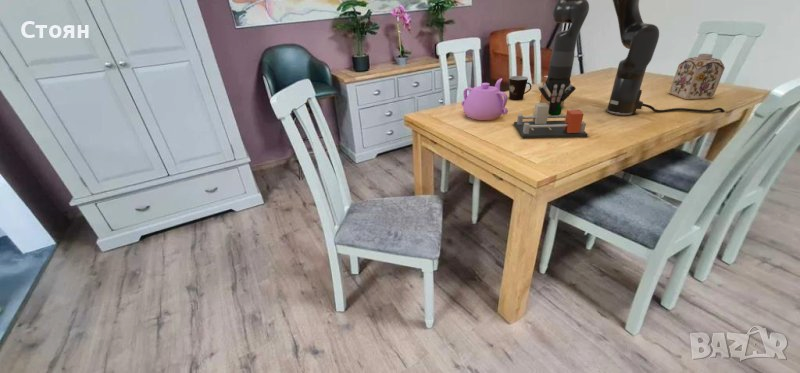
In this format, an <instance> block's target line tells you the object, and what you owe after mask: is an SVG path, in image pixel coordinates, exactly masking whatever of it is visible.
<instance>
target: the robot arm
mask: <svg viewBox="0 0 800 373" xmlns="http://www.w3.org/2000/svg"><path fill="white" fill-rule="evenodd" d="M612 4H613V7H614V10H615V14H616V18H617V23H618V29H619V36H620V41H621V44H622V46H623V47H624V48H626V49H628V52H627V56H626V57H625V58H624V59H622V60H620V61H619V63H618V66H617V69H616V74H615V77H614V81H613V86H612V89H611V93H610V97H609V101H608V105H607V108H606V112H607V113H608V114H610V115H614V116H622V117H623V116H631V115H636V113H637V110H642V108H643V107H645V108H648V109H650V110H651V111H653V112H655V113H669V112H676V111H680V112H681V111H683V112H694V113H714V112H717V111H719V112H721V113H725V112H726V111H725V109H724V108H722V107H716V108H713V109H697V108H685V107H674V108H667V109H656V108H655V107H654V106H652V105H650V104H646V103H644V102H643V101H641V100H640V99H641V95H642V92H643V89H641V87H642V83H643V81H644V77H645V75H646V70H647V67H648V65H649V64H650V63H651V61H652V59H653V56H654V53H655V51H656V48H657V46H658V43H659V38H660V29H659V27H658V26H657V25H656V24H653V23H647V22H646V23H645V22H644V20H643V17H642V15H641V11H640V0H612ZM589 12H590V4H589V1H588V0H557V2H556V3H555V5H554V7H553V10H552V19H553V21H554V22H555V23H557V24H570V26H569V28H568V29H565V30H561V31H557V32H556V34H555V36H554V39H553V47H552V52H551V55H550V60H549V64H548V65H549V66H548V72H547V76H548V78H547V81H546V82H545V85H543V84H542V86H539V87H538V91H539V92H540V94H541V93H542V95H543V96H544V98H545V99H546V100H547V101H550V104H549V110H550V112H556V111H557V110H558V105H559V102H560V101H564V102H565V101H566V100H567V98H569V97H570V95H572V93H573V92H574V91H575V90H577V89H576V87H575V86H574V85H572V82H571V77H572V71H573V66H574V60H575V53H576V45H577V41H578V37H579V34H580V32H581V31H582V27H583V25H584V24H585V21H586V19H587V17H588V14H589ZM546 87H547V88H548V90H549V91H550V97H549V96H548V95H547V93H546V90H547V89H546ZM566 88H567V90H566V91H565V92H564V90H565V89H566ZM563 92H564V93H563ZM562 93H563V94H562Z"/></svg>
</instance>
